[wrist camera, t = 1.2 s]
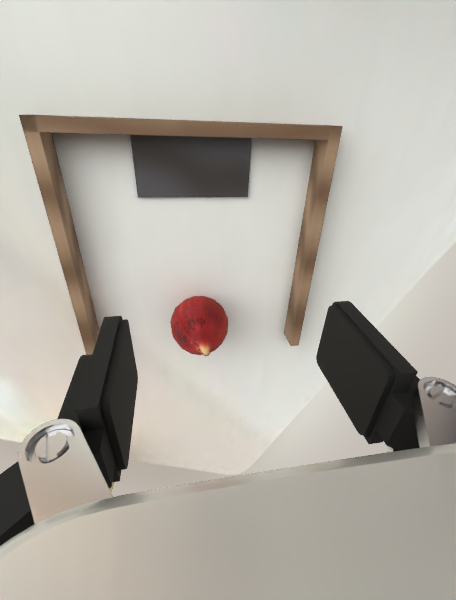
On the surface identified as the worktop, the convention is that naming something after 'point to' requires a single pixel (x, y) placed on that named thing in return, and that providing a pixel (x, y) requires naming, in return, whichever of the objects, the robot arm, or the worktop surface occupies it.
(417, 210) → the worktop surface
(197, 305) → the onion
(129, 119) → the wooden u-shaped frame
